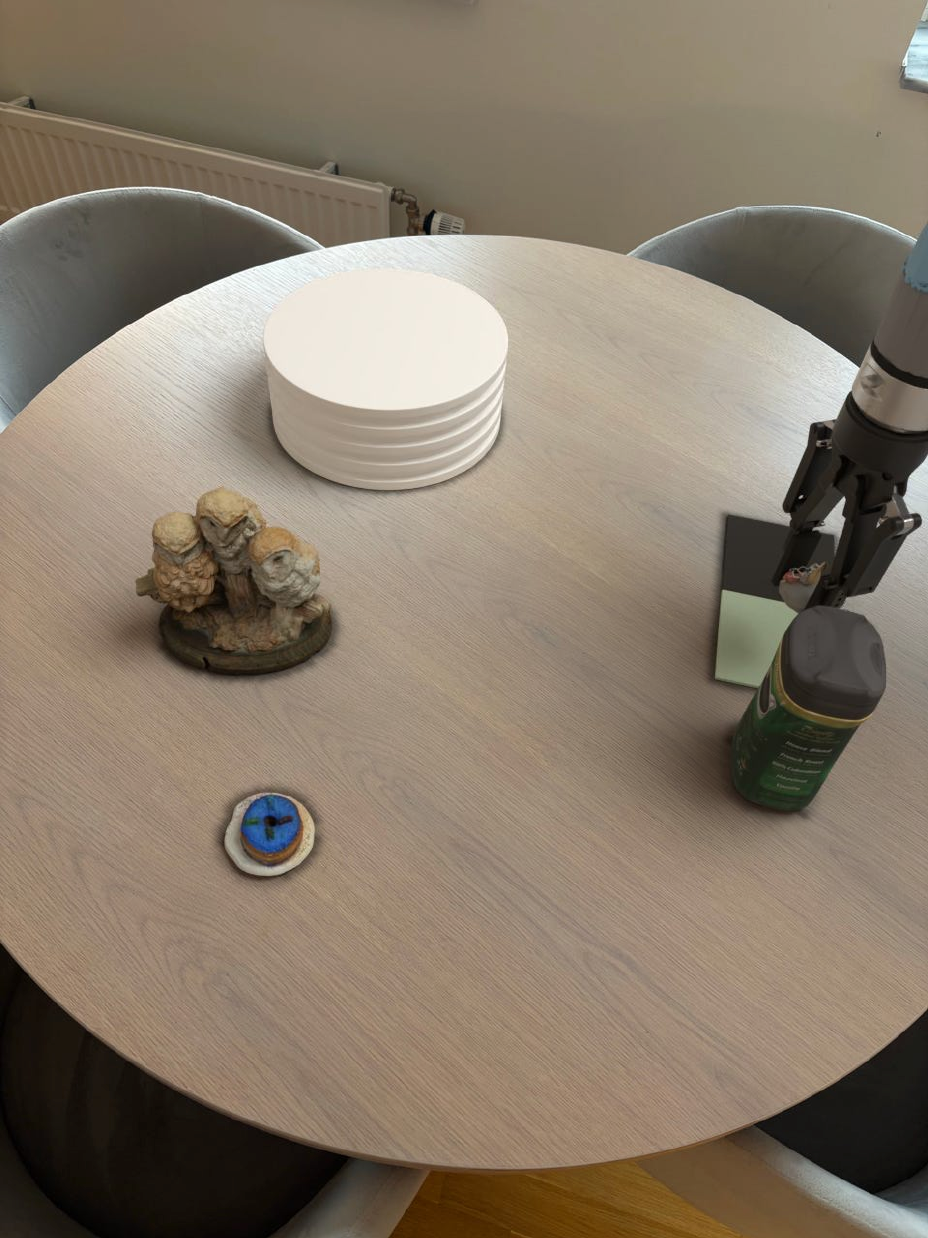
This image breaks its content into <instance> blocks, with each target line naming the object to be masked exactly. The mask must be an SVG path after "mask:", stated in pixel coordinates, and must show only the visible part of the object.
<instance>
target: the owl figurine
mask: <svg viewBox="0 0 928 1238" xmlns="http://www.w3.org/2000/svg"><path fill="white" fill-rule="evenodd" d="M262 515H263V514H262V512H261V511H260V510H259V509H258V505H257V503H256V502H255V501H254V500H253V499H251V498H249V497H246V496H243V495H242V494H241V493H238V492H236V491H235V490H233V489H228V488H227V487H225V486H220V487H217V488H214V489H211V490H209V491H207V492H205V493H203V494H202V495H201V496H200V497H199V498H198V500H197V502H196V508H195V515H193V514H191V513H190V512H181V511H172V512H168V513H166V514H164V515H163V516H162V515H161V516H160V517H158V518H157V519H156V520H155V521H154V523H153V525H152V530H151V537H152V540H151V541H152V547H153V551H152V555H151V560H152V563H153V564H154V567H152V568H151V567H150V568H149V569H147V573H146V574H145V575H144V576H142V577H138V578H136V579H135V581H134V583H135V593H136V595H137V596H138V597H145V596H148V597H150V598H151V599H152V600H153V601H154V602H156V603H159V604H164V605H165V604H166V605H165V606H164V608H163V609H162V611H161V613H160V616H159V618H158V631H159V635H160V637H161V640H162V641H163V643H164V645H165V646H166V648H167V649H168V650H169V651H170V652H171V653H172V655H174V656H175V657H176V658H178V659H179V660H180V661H182V662H184V663H186V664H188V665H192V666H195V667H196V668H199V669H202V670H203V669H204V668H205V667H206V663H205V661H204V659H203V658H205V659H206V661H207V662H208V664H209V665H208V666H207V667H208V670H210V671H211V672H215V673H217V674H225V675H226V674H227V675H259V674H265V673H271V672H277V671H282V670H285V669H288V668H289V669H290V668H292V667H294V666H297V665H299V664H300V663H303V662H306V661H308V660H309V659H310V658H311V657H312V656H313V655H315V653H316V652H317V651H318V652H320V651H322V650H323V649H324V648H325V646H326V645H327V644H328V642H329V640H330V638H331V635H332V632H333V617H332V613H331V611H330V610H331V609H332V604H331V602H330V601H329V600H327V599H326V598H324V597H321V596H320V595H318V594H316V592H317V590H318V588H319V586H321V585H320V584H321V575H320V572H321V571H320V570H321V567H320V562H321V561H320V557H319V551H318V550H317V548H316V547H315V546H314V545H313V544H311V543H310V542H306V541H303V540H302V539H301V538H300V536H298V535H297V534H293V533H292V532H291V531H290V530H288V529H287V528H286V527H285V528H284V527H281V526H268V527H267V521H266V518H264V517H263V516H262Z"/></svg>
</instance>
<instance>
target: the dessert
mask: <svg viewBox="0 0 928 1238" xmlns="http://www.w3.org/2000/svg"><path fill="white" fill-rule="evenodd" d="M315 831H316V829H315V822H314V820H313V817H312V816H311V814H310V812H309V811H308V810H307V808H306V807H305V806H304V805H303V804H302V803H301V802H299V801H298V800H297V799H295V798H293V797H292V796H291V795H285V794H283V793H278V792H260V793H256V794H252V795H250V796H248V797H246V798H245V799H243V800H242V801H240V802H239V803H237V804H236V806H235V807H234V809H233V811H232V816H231V819H230V822H229V824H228V825H227V827H226V830H225V834H224V841H223V842H224V848H225V851H226V853H227V854H228V856H229V857H230V858H231V860H232V861H233V862H234V864H235V866H236V867H237V868H239V869H240V870H241V871H243V872H245V873H247V874H250V875H255V876H260V877H261V876H263V877H270V876H271V877H273V876H278V875H283V874H285V873H286V872H289V871H291V870H292V869H293V868H296V867H297V866H300V864H301V863H302V862H303V861H304V860H305V859H306V858H308V856H309V854H310V852H311V851H312V849H313V848H314V844H315Z"/></svg>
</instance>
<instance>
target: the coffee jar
mask: <svg viewBox="0 0 928 1238" xmlns="http://www.w3.org/2000/svg"><path fill="white" fill-rule="evenodd" d="M886 663H887V662H886V656H885V649H884V644H883V639H882V637H881V636H880V634H879V632H878V630H877V629H876V628H875V626H874V625H873V624H872V623H871V622H870V621H869V620H868V618H867V617H866V615H864V614H861V613H857V612H854V611H850V610H846V609H842V608H833V607H827V606H815V607H812V608H809V609H806V610H804V611H802V612H801V613H799V614H798V615H797V616H796V617H795V618H794V619H793V620H792V622H791V623H790V625H789V626H788V628H787V629H786V631H785V632H784V634H783V636H782V639H781V641H780V644H779V646H778V649H777V651H776V654H775V656H774V659H773V661H772V663H771V665H770V667H769V669H768V671H767V673H766V675H765V677H764V679H763V680H762V682H761V684H760V686H759V688H757V690H756V691H755V693H754V695H753V697H752V699H751V700H750V702H749V704H748V705H747V707H746V709H745V711H744V712H743V714H742V716H741V717H740V720H739V721H738V723H737V725H736V727H735V729H734V734H733V737H732V741H731V752H730V769H731V771H730V772H731V779H732V782H733V785H734V787H735V789H736V790H737V791H738V793H739V794H740V795H741V796H743V797H744V798H745V799H747V800H748V801H750V802H752V803H754V804H757V805H760V806H762V807H766V808H769V809H773V810H779V811H791V812H794V811H800V810H802V809H804V808H807V807H808V806H809V805H810V804H811V803H812V802H813V800H814V799H815V797H816V795H817V794H818V793H819V792H820V789H821V788H822V786H823V784H824V783H825V781H826V780H827V778H828V776H829V774H830V773H831V771H832V770H833V768H834V766H835V765H836V763H837V761H838V759H839V758H840V756H841V755H842V754H843V752H844V751H845V749H846V747H847V746H848V744H849V742H850V741H851V739H852V738H853V736H854V735H855V734H856V732H857V730H858V729H859V728H860V726H861V725H862V724H863V723H865V722H866V721H867V720H868V719H870V718H871V716H872V715H874V712H875V710H876V708H877V706H878V705H879V703H880V701H881V699H882V697H883V695H884V693H885V690H886V687H887V664H886Z"/></svg>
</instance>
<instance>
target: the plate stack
mask: <svg viewBox="0 0 928 1238" xmlns="http://www.w3.org/2000/svg"><path fill="white" fill-rule="evenodd" d="M262 342H263V343H262V344H263V351H264V357H265V358H264V360H265V367H266V373H267V383H268V390H269V401H270V407H271V414H272V424H273V429H274V432H275V434H276V437H277V439H278V441H279V443H280V444H281V446H282V447H283V449H284V450H285V451H286V452H287V454H288V455H289V456H290V457H291V458H292V459H293V460H295V462H297V463H298V464H299V465H300V466H302V467H304V468H305V469H307V470H309V471H310V472H311V473H313V474H316V475H317V476H320V477H322V478H324V479H327V480H329V481H331V482H335V483H338V484H341V485H345V486H349V487H354V488H359V489H364V490H373V491H374V490H375V491H400V490H401V491H402V490H411V489H418V488H423V487H429V486H432V485H435V484H439V483H441V482H445V481H448V480H451V479H452V478H455V477H457V476H459V475H461V474H462V473H464V472H466V471H468V470H469V469H471V468H472V467H473V466H475V465H476V464H477V463H478V462H480V461H481V460H482V459H483V458H484V457H485V456H486V455H487V454H488V452H489V451H490V450H491V449H492V447H493V445H494V443H495V442H496V439H497V437H498V434H499V431H500V425H501V418H502V417H501V416H502V407H503V399H504V398H503V396H504V387H505V376H506V369H507V358H508V352H509V351H508V350H509V334H508V329H507V327H506V324H505V322H504V320H503V318H502V316H501V315H500V313H499V312H498V311H497V309H496V308H494V306H493V305H492V304H491V303H490V302H489V301H487V299H485V298H484V297H483V296H481V295H480V294H478V293H477V292H475V291H474V290H473V289H470V288H468V287H467V286H465V285H463V284H461V283H459V282H456V281H453V280H451V279H449V278H446V277H442V276H439V275H436V274H432V273H427V272H422V271H417V270H412V269H402V268H391V267H390V268H389V267H388V268H386V267H385V268H383V267H381V268H380V267H378V268H377V267H376V268H361V269H353V270H347V271H341V272H337V273H332V274H329V275H326V276H323V277H319V278H317V279H314V280H311V281H310V282H307V283H305V284H303V285H301V286H299V287H297V288H296V289H294V290H293V291H291V292H290V293H287V295H286V296H284V297H283V298H282V299H281V300H279V302H278V303H277V304H276V305H275V306H274V307H273V309H272V310H271V312H270V313H269V315H268V317H267V318H266V321H265V324H264V327H263V332H262Z"/></svg>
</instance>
